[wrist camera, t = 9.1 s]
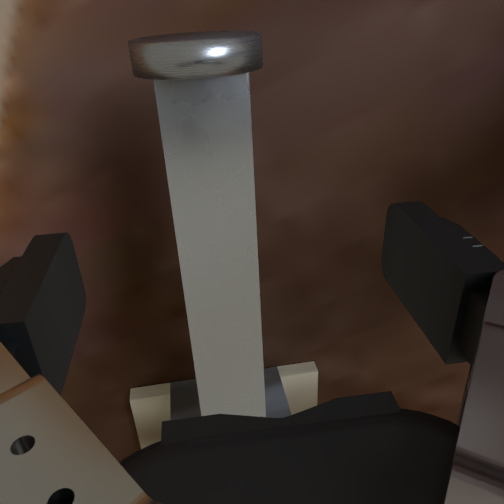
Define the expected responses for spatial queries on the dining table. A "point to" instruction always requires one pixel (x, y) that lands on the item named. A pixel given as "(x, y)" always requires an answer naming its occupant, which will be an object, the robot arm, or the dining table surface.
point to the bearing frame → (187, 402)
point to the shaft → (212, 203)
